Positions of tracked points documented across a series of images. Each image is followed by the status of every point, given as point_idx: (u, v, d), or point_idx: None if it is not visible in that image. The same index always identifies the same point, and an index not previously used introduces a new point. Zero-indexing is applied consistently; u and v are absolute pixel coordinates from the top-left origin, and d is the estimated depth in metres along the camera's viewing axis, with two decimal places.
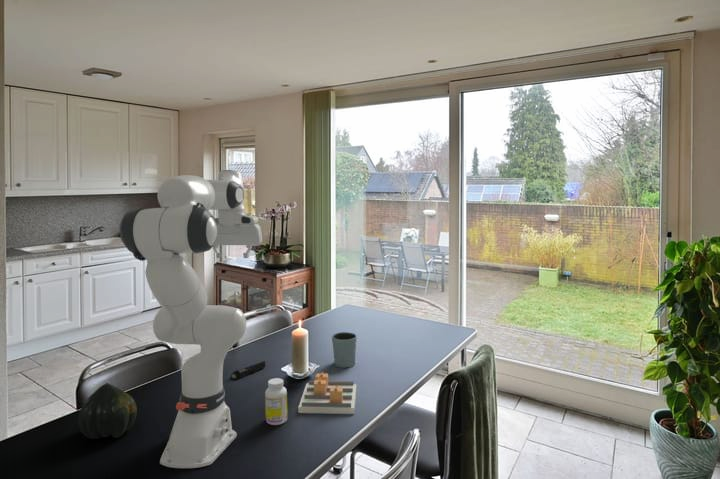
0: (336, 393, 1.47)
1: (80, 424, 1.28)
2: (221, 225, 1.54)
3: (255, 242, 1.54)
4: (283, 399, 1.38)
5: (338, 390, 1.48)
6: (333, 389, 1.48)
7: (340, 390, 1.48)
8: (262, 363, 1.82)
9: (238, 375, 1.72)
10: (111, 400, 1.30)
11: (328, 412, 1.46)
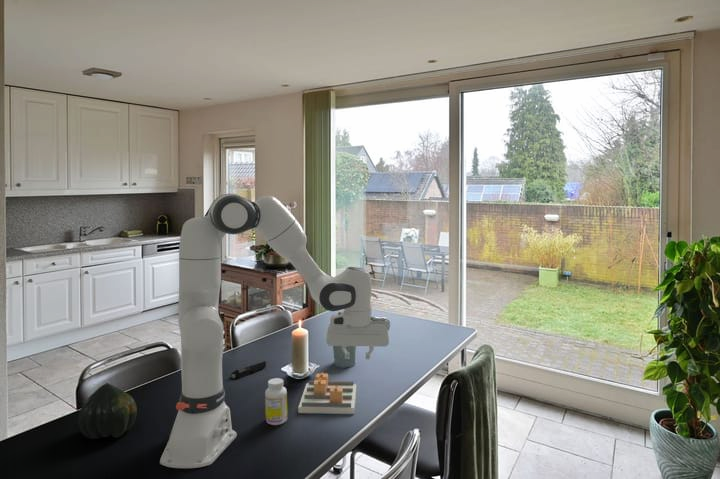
0: (336, 393, 1.47)
1: (80, 424, 1.28)
2: None
3: None
4: (283, 399, 1.38)
5: (338, 390, 1.48)
6: (333, 389, 1.48)
7: (340, 390, 1.48)
8: (263, 363, 1.82)
9: (237, 375, 1.72)
10: (111, 400, 1.30)
11: (328, 412, 1.46)
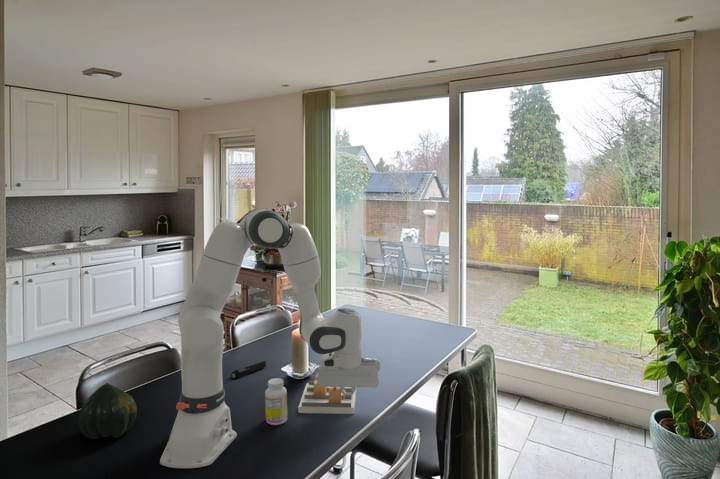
0: (335, 393, 1.47)
1: (80, 424, 1.28)
2: None
3: None
4: (283, 399, 1.38)
5: (337, 390, 1.48)
6: (332, 389, 1.48)
7: (339, 390, 1.48)
8: (262, 363, 1.82)
9: (237, 374, 1.72)
10: (111, 400, 1.30)
11: (328, 412, 1.46)
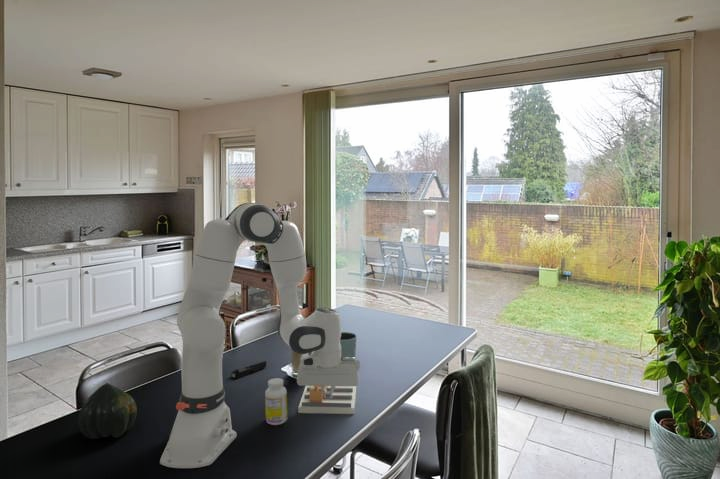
0: (316, 393, 1.47)
1: (80, 424, 1.28)
2: None
3: None
4: (283, 399, 1.38)
5: (318, 390, 1.48)
6: (313, 389, 1.48)
7: (320, 390, 1.48)
8: (263, 363, 1.82)
9: (237, 374, 1.72)
10: (111, 400, 1.30)
11: (328, 412, 1.46)
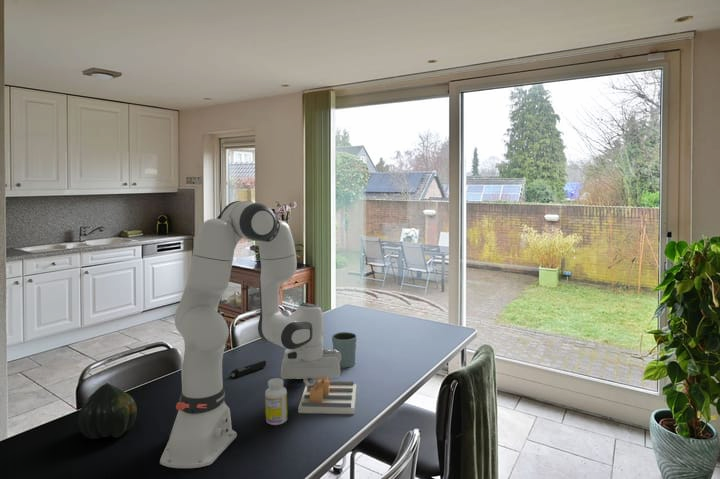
0: (316, 393, 1.47)
1: (80, 424, 1.28)
2: None
3: None
4: (283, 399, 1.38)
5: (318, 390, 1.48)
6: (313, 389, 1.48)
7: (320, 390, 1.48)
8: (262, 362, 1.83)
9: (237, 374, 1.73)
10: (111, 400, 1.30)
11: (328, 412, 1.46)
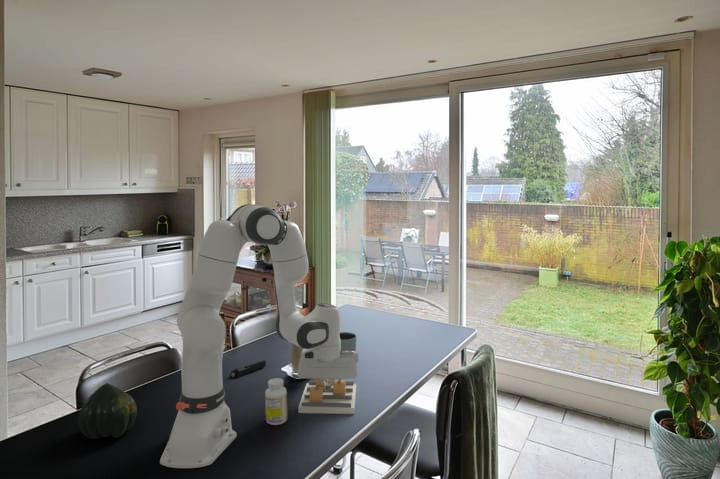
0: (316, 393, 1.47)
1: (80, 424, 1.28)
2: None
3: None
4: (283, 399, 1.38)
5: (318, 390, 1.48)
6: (313, 389, 1.48)
7: (320, 390, 1.48)
8: (262, 362, 1.83)
9: (237, 373, 1.73)
10: (111, 400, 1.30)
11: (328, 412, 1.46)
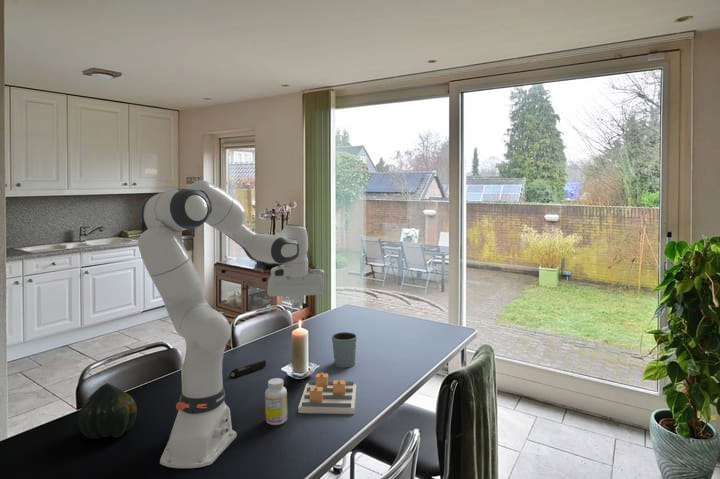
0: (316, 393, 1.47)
1: (80, 424, 1.28)
2: None
3: None
4: (283, 399, 1.38)
5: (318, 390, 1.48)
6: (313, 389, 1.48)
7: (320, 390, 1.48)
8: (262, 362, 1.83)
9: (237, 373, 1.73)
10: (111, 400, 1.30)
11: (328, 412, 1.46)
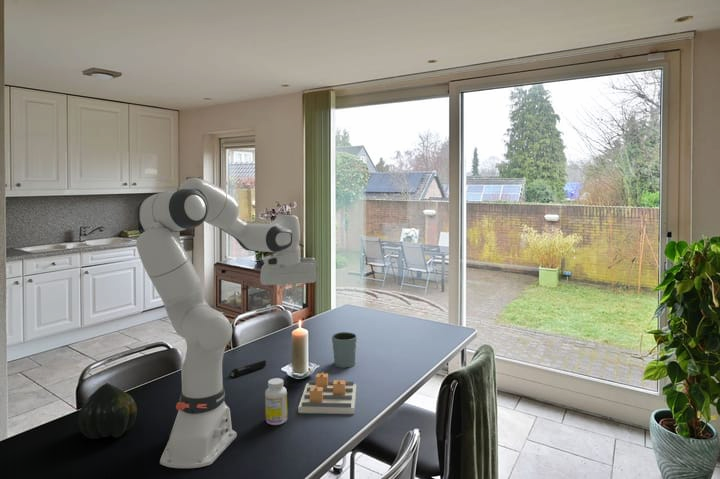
0: (316, 393, 1.47)
1: (80, 424, 1.28)
2: None
3: None
4: (283, 399, 1.38)
5: (318, 390, 1.48)
6: (313, 389, 1.48)
7: (320, 390, 1.48)
8: (262, 362, 1.83)
9: (236, 373, 1.73)
10: (111, 400, 1.30)
11: (328, 412, 1.46)
